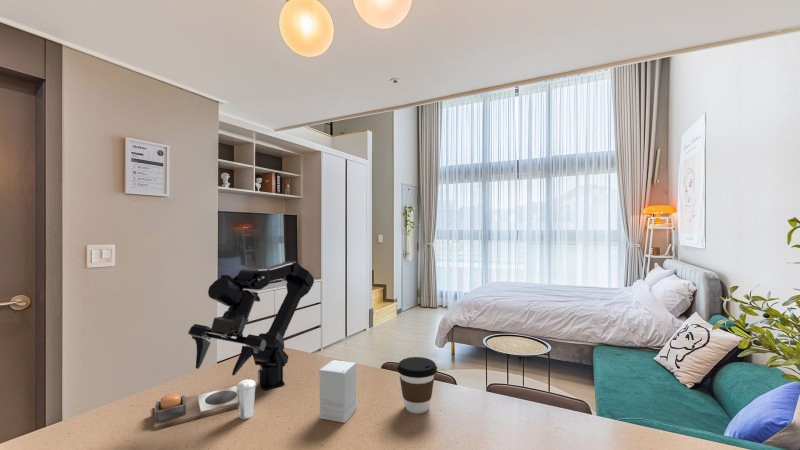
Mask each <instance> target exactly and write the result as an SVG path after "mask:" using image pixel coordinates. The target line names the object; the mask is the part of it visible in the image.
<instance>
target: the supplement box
mask: <svg viewBox="0 0 800 450" xmlns="http://www.w3.org/2000/svg"><path fill="white" fill-rule="evenodd" d="M318 371H319V418H320V420H321V419H322V420H327V421H331V422H337V423H338V422H339V423H343V424H345V423H346V422H348V420H349V419H350V417H351V416H353V414H354V413H355V412H356V411H357V408H358V407H357V404H358V403H357V402H358V401H357V362H353V361H352V362H351V361H342V360H336V359H332V360H331V361H330V362H328V363H327V364H326V365H324V366H323V367H321V368H320V369H319V370H318Z"/></svg>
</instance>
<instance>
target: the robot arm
mask: <svg viewBox="0 0 800 450" xmlns="http://www.w3.org/2000/svg"><path fill="white" fill-rule="evenodd" d="M280 278H283V279H284V281H285V282H286V292H287V293H286V295H285V297H284V299H283V301H282V303H281V305H280V307H279V309H278V311H277V313H276V315H275V317H274V318H273V321H272V323H271V325H270V327H269V329H268V331H266V333H263V332H262V333H261V332H260V334H258V335H254V334H250V333H249V334H247V336H244V334H243V333H244V330H245V327H246V324H248V323H249V316H250V315H251V311H252V310H253V306H254V304H255V302H258V303H259V302H261V298H260V295H258V294H259V293H258V292H257V291H260V290H263V289H264V288H265V287H268V286H269V285H270V282H272V281H275V280H278V279H280ZM314 282H315V279H314V276H313V275H312V274H311V273H310V271H309V270H308V269H306V268H305V267H303V266H301V265H300V263H298V262H297V261H293V260H292V261H288V260H287V261H286V260H285V261H283V262H282V263H277V264H274V265H270V266H267V267H262V268H242V269H241V270H239V272H238V274H236V275H235V276H233V277H232V276H230V275H228V274H221V276H220V277H219V278H218V279H216V280H215V281H213V283H212V284H211V285H210V286H209V287H208V291H207V294H208V297H209V298H210V299H212V300H214V301H216V302H217V303H220V304H222V305H223V306H225V307H228V308H227V311H224V312H223V315H222V316H217V317H214V318H213V321H212V324H211V327H209V326H207V325H203V324H198V323H195V324H193V325H191V326H190V328H189V330H188V331H187V332H188V333H187V335H190V336H191V339H193V340H194V341H195V344H196V356H195V357H196V359H195V369H196V370H199V369H200V367H201V365H202V363H203V361H204V359H205V357H206V354H207V352H208V350H209V348H210V345H211V343H212V342H211V341H209V340H211V339H215V340H221V341H225V342H232V343H237V344H242V346H241V350H240V354H239V356H238V357H237V358H238V359H237V360H236V363H235V365H234V367H233V370H232V373H231V375H232V376H233V377H234V376H235V375H236V374H237V373H238V372H239V371H240V369H241V368H242V367H243V366H244V364H245V363H246V362H247V361H249V359H250V358H251V357H253V361H254V364H255V366H259V369H258V371H257V378H258V379H257V384H258V386H259V387H261V389H262V390H263V391H264V390H265V391H266V390H269V389H274V388H276V387H280V386H281V387H283V386H285V381H284V367H285V366H286V364H288V361H289V355H288V354H287V353H286V352H285V350H284V349H285V340H284V337H285V334H286V333H287V330H288V327H289V326H290V324H291V321H292V319H293V316H294V314H295V312H296V310H297V308H298V306H299V304H300V301H301V299H302V298H303V297H305V296H306V295H308V294H309V292H310V291H311V289H312V287H313V286H314ZM250 290H253V291H250ZM254 290H255V291H256V290H257V291H256V292H255V291H254Z"/></svg>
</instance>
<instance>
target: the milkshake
mask: <svg viewBox="0 0 800 450" xmlns="http://www.w3.org/2000/svg"><path fill="white" fill-rule="evenodd" d="M257 382H258V377H257V378H256V379H255V380H252V379H243V380H241V381H239V382H238V384H236V386H237V394H238V406H239V408H238V417H239V419H240V420H248V419H251V418H252V417H253V415H254V410H255V408H254V407H255V395H256V388H257V387H256V386H257Z"/></svg>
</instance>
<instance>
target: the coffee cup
mask: <svg viewBox="0 0 800 450" xmlns="http://www.w3.org/2000/svg"><path fill="white" fill-rule="evenodd" d="M396 371H397V372H398V374H399V381H400V387H401V389H400V390H401V394H402V398H403V404H404V408H405V409H406V411H408V412H409V413H412V414H424V413H426V412H428V410H429V409H430V404H431V399H432V395H433V390H434V389H433V388H434V381H435V375H436V374H437V371H438V366H437V364H436V363H435V362H434V360H432V359H430V358H427V357H421V356H413V357H406V358H403V359H402V360H400V361H399V362H398V365H397V367H396Z"/></svg>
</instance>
